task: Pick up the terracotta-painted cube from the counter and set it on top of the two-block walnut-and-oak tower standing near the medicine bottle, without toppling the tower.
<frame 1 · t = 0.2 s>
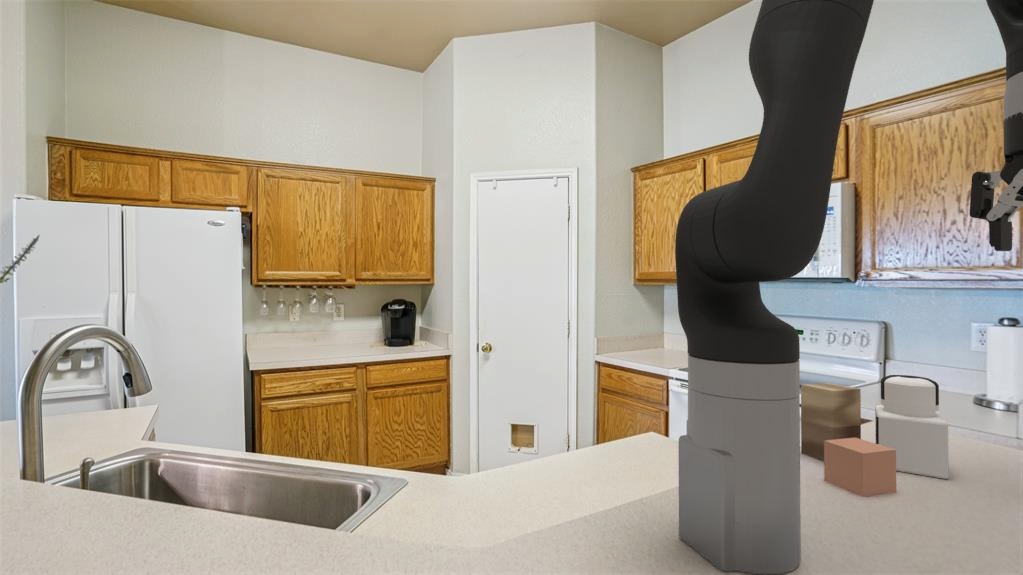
tower bottom: (830, 457, 69), on the countertop, touching tower top
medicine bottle: (909, 467, 65), on the countertop
clay block: (859, 486, 58), on the countertop
tower top: (830, 421, 69), point 5 cm above the countertop, touching tower bottom
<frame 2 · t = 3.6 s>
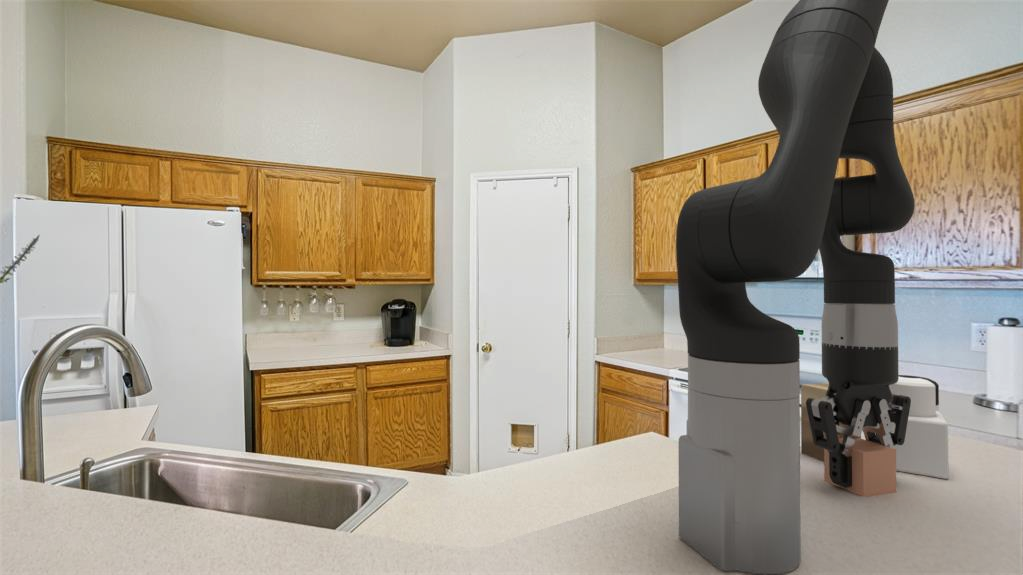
hand: (859, 482, 58), 0 cm above the countertop, fingers closed on clay block, 5 cm apart
clay block: (859, 486, 58), on the countertop, touching gripper
everything else where it was.
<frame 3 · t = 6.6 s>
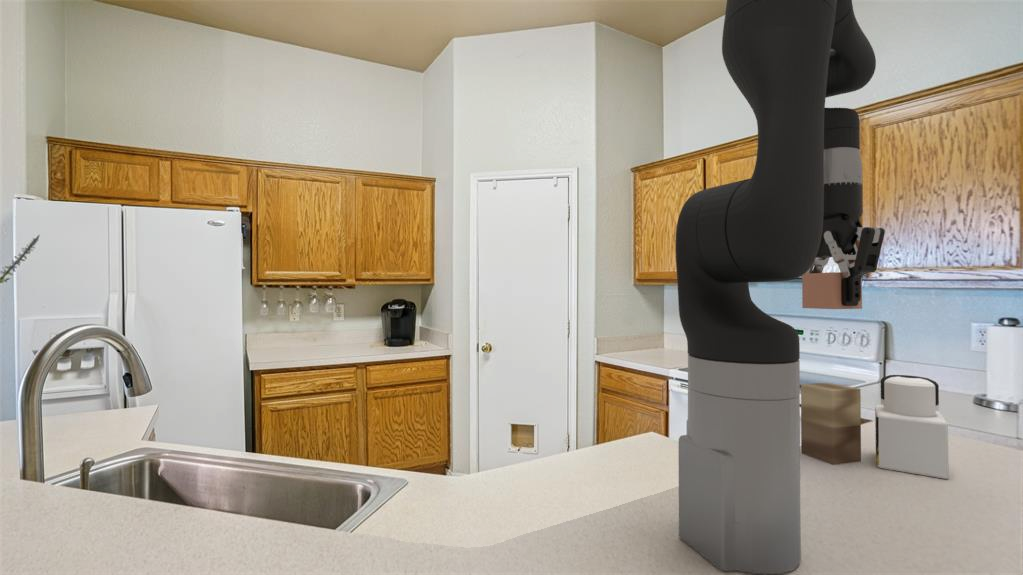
hand: (831, 304, 69), 22 cm above the countertop, fingers closed on clay block, 5 cm apart
clay block: (831, 308, 69), point 21 cm above the countertop, touching gripper
everything else where it was.
when the fingers open (11 cm above the countertop, at t = 9.5 s): clay block stays where it is, resting on tower top.
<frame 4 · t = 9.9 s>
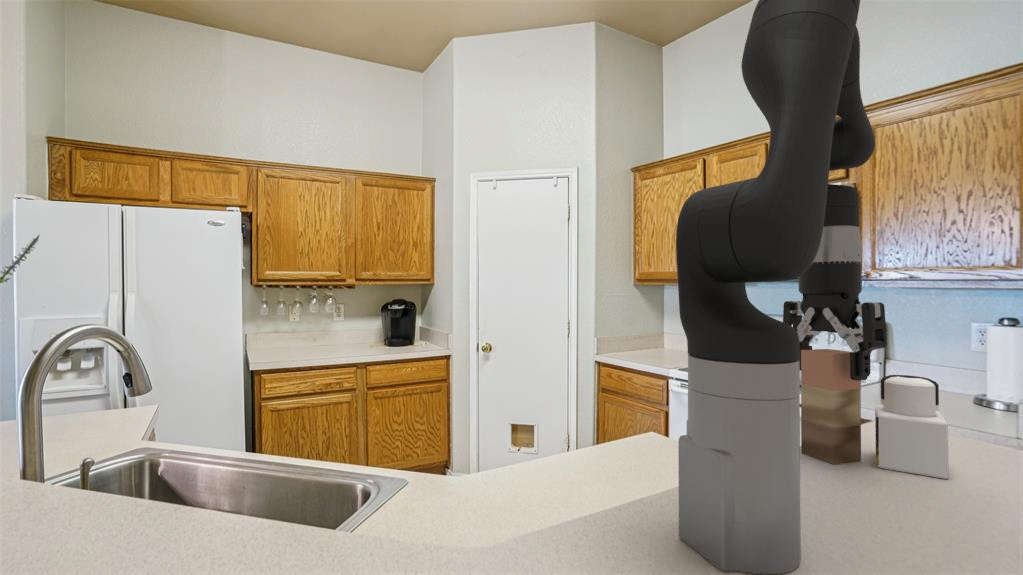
hand: (829, 374, 69), 12 cm above the countertop, fingers open, 8 cm apart
clay block: (830, 386, 69), point 10 cm above the countertop, touching tower top
tower top: (830, 421, 69), point 5 cm above the countertop, touching clay block, tower bottom
everything else where it was.
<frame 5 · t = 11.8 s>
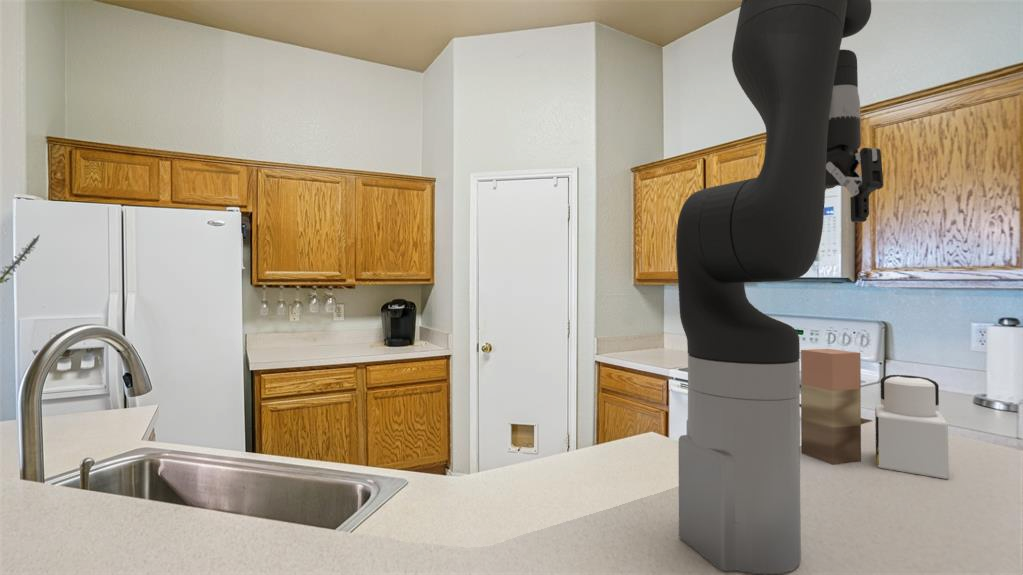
hand: (832, 225, 76), 34 cm above the countertop, fingers open, 8 cm apart
nothing on the countertop moved.
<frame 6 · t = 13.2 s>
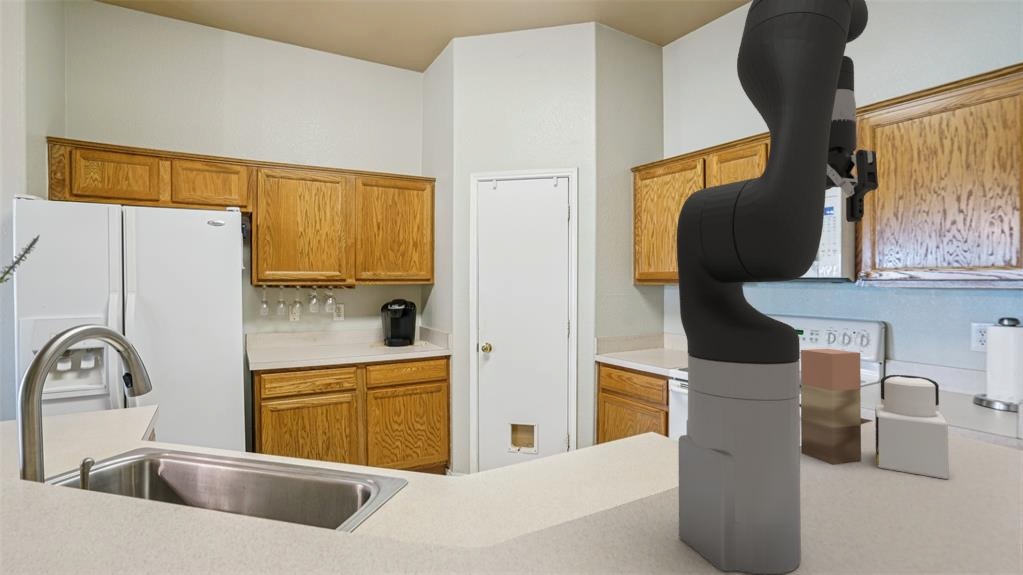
hand: (828, 225, 78), 34 cm above the countertop, fingers open, 8 cm apart
nothing on the countertop moved.
at the end: clay block 0.0 cm off-centre on the tower bottom, point 10.0 cm above the tower bottom's base; tower top tilted 0°; clay block tilted 0° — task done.
